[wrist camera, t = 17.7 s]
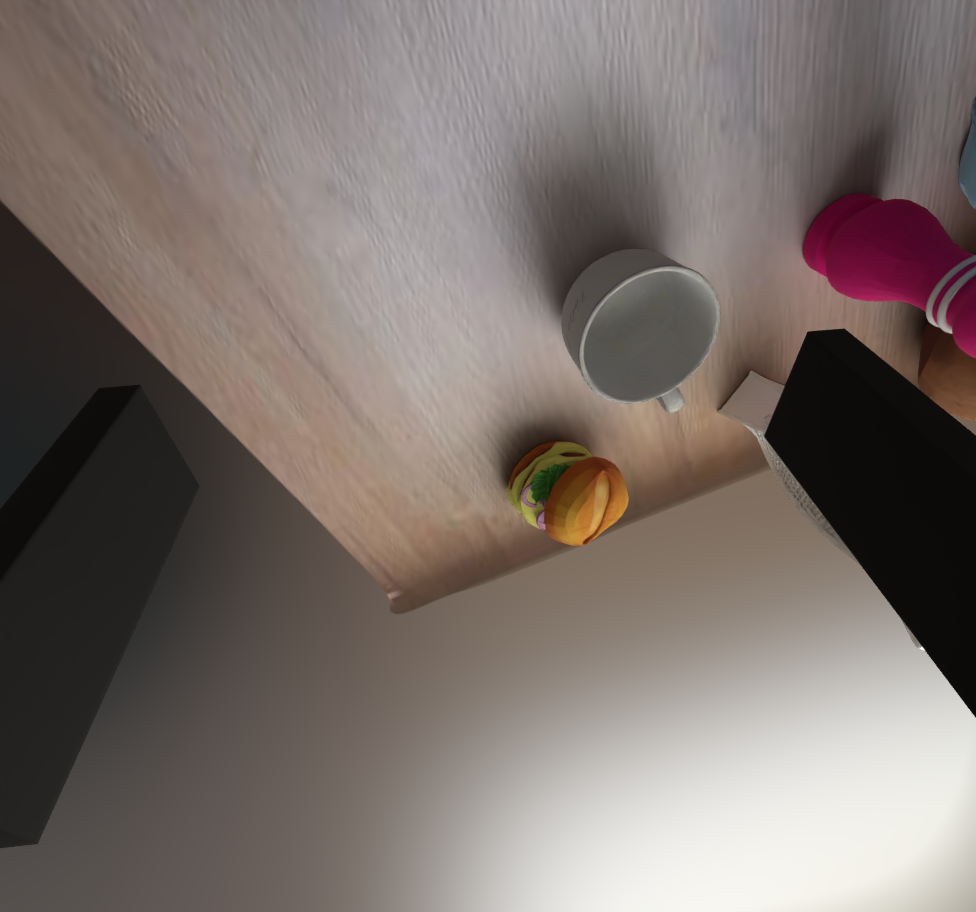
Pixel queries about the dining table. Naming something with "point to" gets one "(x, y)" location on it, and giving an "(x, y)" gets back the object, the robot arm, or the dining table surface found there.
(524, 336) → the dining table surface
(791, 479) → the skyscraper
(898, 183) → the dining table surface
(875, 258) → the pepper mill
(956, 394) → the butternut squash
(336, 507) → the dining table surface
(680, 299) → the teacup
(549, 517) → the cheeseburger
